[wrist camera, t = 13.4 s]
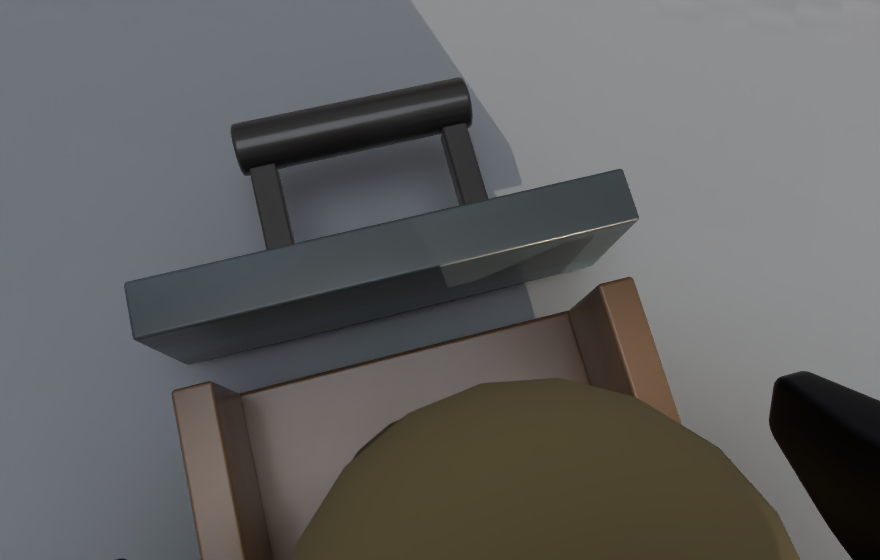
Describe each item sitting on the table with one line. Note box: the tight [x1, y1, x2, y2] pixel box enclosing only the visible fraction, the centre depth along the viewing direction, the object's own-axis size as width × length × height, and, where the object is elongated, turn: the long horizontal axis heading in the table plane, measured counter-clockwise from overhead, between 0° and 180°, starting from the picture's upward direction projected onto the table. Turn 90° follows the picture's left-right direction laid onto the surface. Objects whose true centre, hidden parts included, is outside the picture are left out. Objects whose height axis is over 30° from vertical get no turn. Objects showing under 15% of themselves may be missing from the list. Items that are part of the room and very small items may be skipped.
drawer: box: [124, 77, 682, 560], centre depth 16 cm, size 17×10×4 cm, turn 15°
